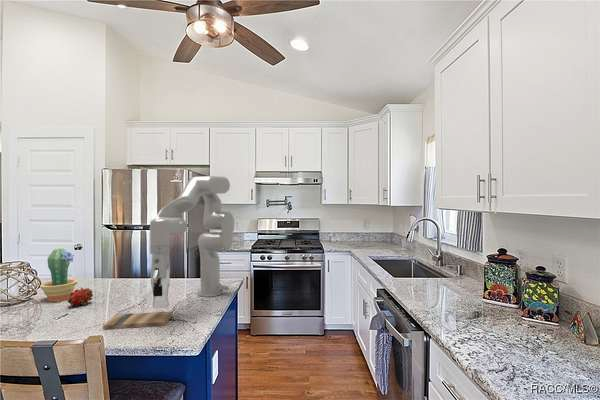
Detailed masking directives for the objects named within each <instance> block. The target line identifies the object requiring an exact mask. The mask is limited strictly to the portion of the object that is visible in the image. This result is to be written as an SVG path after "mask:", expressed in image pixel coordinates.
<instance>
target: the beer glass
mask: <svg viewBox="0 0 600 400" xmlns="http://www.w3.org/2000/svg"><path fill="white" fill-rule="evenodd" d="M150 273H151V274H150V286H151V291H152V292H153V278H152V271H151V272H150ZM170 275H171V274H169V268H168V269H167V276H166V278H165V279H163V278H162V284H161V286H162V296H153V301H152V308H153V309H163V308H167V307H169V304H170V303H169V297H168V296H169V294H168V293H169V288H170ZM158 278H160V276H158ZM159 282H160V280H159Z"/></svg>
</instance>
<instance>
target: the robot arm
mask: <svg viewBox="0 0 600 400" xmlns="http://www.w3.org/2000/svg"><path fill="white" fill-rule="evenodd" d="M230 188H231V184H230V181H229V179H228V178H227V177H226V176H214V175H203V176H200V175H197V176H196V175H195V176H193V177H191V178H190V179H189V180H188V181H187V183H186V184H185V186H184V188H183V189H182V191H181V192H180V194H179V196H178V197H177V198H175V199H174V200H172V201H171V202H169V203H168V204H166V205H165V206H163V207H162V208H161V209H160V210H159V212H158V213H157V214H156V216H155V218H154V219H152V220H150V222H149V247H150V248H149V249H150V251H149V254H150V255H151V272H152V278H153V291H152V295H153V296H162V286H161V284H162V278H163V279H165V278H166V276H167V269H168V268H169V275H171V259H170V253H171V236H180V235H183V234H184V233H186V231H187V229H188V222H187V221H186V220H185V219H184V218H182V217H177V216H178V215H181V214H183V213H186V212H189V211H191V210H193V209H194V208H196V206H197V204H198V202H199V200H200V199H201V197H202V198H203V200H204V201H203V202H204V210H203V221H202V224H203V228H205V229H207V230H211V231H207V232H203V233H201V234H200V235H199V236H198V240H197V245H198V250H199V256H200V261H199V262H200V290H198V292H197V296H199V297H202V298H203V297H204V298H213V297H218V296H220V295H223V293H224V290H225V291H229V288H230V287H229V285H226V284H225V285H222V283H221V280H220V279H221V278H220V277H221V276H220V275H221V273H220V265H221V263H220V260H221V259H220V256H219V254H218V252H229V251H230V250H231V249H232V247H233V240H234V232H235V231H234V228H235V219H234V216H233V214H232V213H231V212H230V211H225V210H224V211H222V200H221V199H220V197H219V195H218V194H226V193H227V192H228V191H229V190H230ZM213 230H215V231H216V230H217V231H221V232H212V231H213ZM158 276H160V278H158ZM159 280H160V282H159Z"/></svg>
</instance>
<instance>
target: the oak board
mask: <svg viewBox="0 0 600 400" xmlns="http://www.w3.org/2000/svg"><path fill="white" fill-rule="evenodd" d="M172 316H173V311H172V310H171V311H170V310H169V311H157V312H152V311H151V312H135V313H133V312H131V313H120V314H115V315H114V316H113V317H112V318H111V319H109V320H108V321H107V322H105V324H103V326H102V329H103V330H104V331H105V330H116V329H115V328H120V329H132V328H131V327H136V328H149V327H165V325H166V324H167V323H168V322H169V320H170V319H171V317H172ZM169 318H170V319H169Z"/></svg>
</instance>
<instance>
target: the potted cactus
mask: <svg viewBox="0 0 600 400" xmlns="http://www.w3.org/2000/svg"><path fill="white" fill-rule="evenodd" d="M46 260H47V268H48V269H49V272H50V277H51V280H50V281H46V282H43V283H40V284H41V285H39V287H40V290H42V291H43V293H44V295H45V296H46V297H47V299H48V302H51V303H53V302H61V301H65V300H69V297H70V294H71V293H72V292H74V291H75V290H74V289H75V288H76V285H78V279H74V278H68V274H69V273H68V272H69V271H68V270H69V266H70V263H73V262H74V255H73V254H72V252H70V251H67V250H66V249H65V248H60V247H59V248H54V249H53V250H52V251H51V253H50V254H49V256H47V259H46Z"/></svg>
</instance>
